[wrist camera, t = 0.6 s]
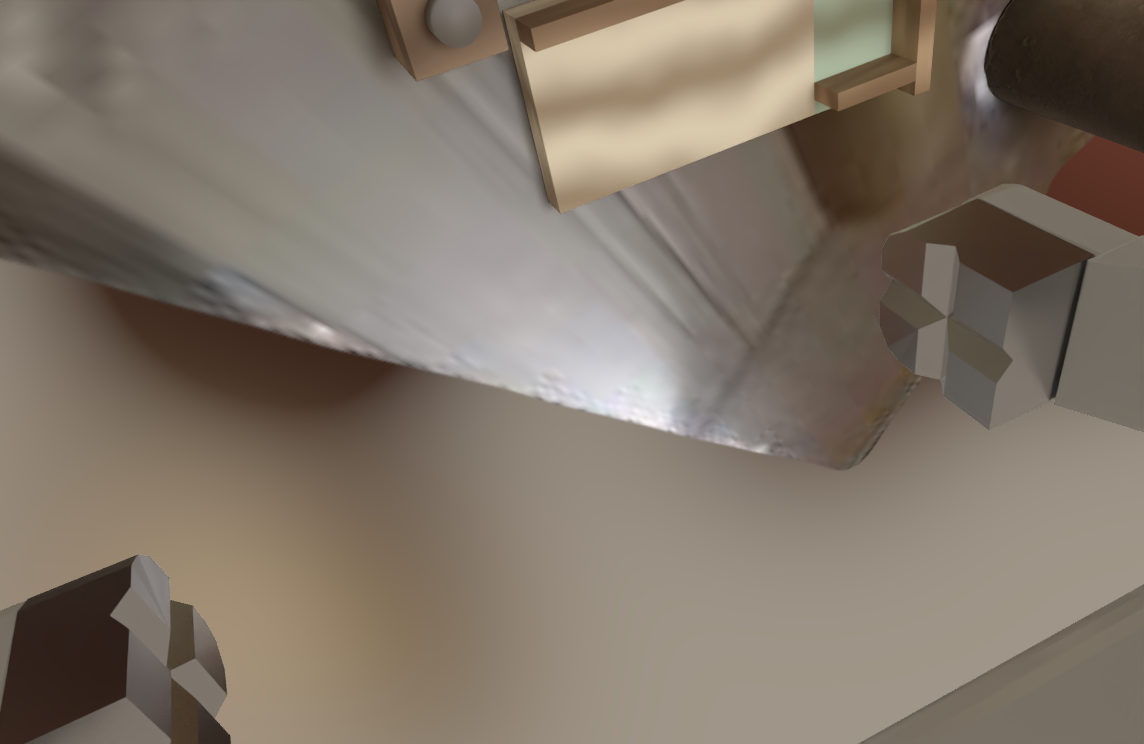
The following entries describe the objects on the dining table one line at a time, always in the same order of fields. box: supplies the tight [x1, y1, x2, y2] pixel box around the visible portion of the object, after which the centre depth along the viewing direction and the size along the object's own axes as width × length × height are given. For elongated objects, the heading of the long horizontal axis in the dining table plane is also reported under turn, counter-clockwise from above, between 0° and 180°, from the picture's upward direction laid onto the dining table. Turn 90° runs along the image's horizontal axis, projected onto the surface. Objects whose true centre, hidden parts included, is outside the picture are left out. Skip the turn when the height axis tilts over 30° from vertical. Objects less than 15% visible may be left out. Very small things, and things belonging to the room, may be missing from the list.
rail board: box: [503, 0, 937, 214], centre depth 50 cm, size 12×26×4 cm, turn 103°
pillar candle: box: [985, 0, 1144, 153], centre depth 56 cm, size 10×10×15 cm
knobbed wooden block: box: [376, 0, 509, 81], centre depth 41 cm, size 5×5×6 cm
